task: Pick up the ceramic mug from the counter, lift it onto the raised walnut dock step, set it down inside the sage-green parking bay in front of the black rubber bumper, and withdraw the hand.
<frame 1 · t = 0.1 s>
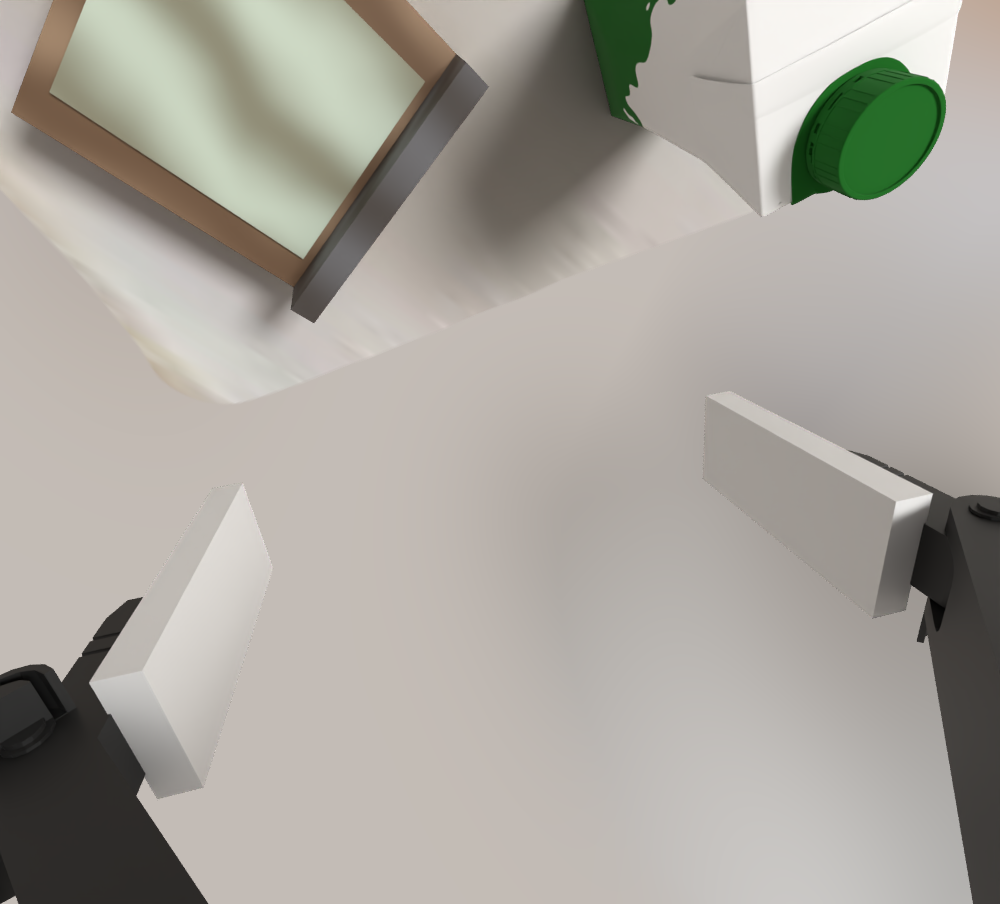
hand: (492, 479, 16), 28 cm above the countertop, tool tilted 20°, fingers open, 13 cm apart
milk carton: (648, 23, 33), on the countertop
dock step: (264, 80, 31), on the countertop
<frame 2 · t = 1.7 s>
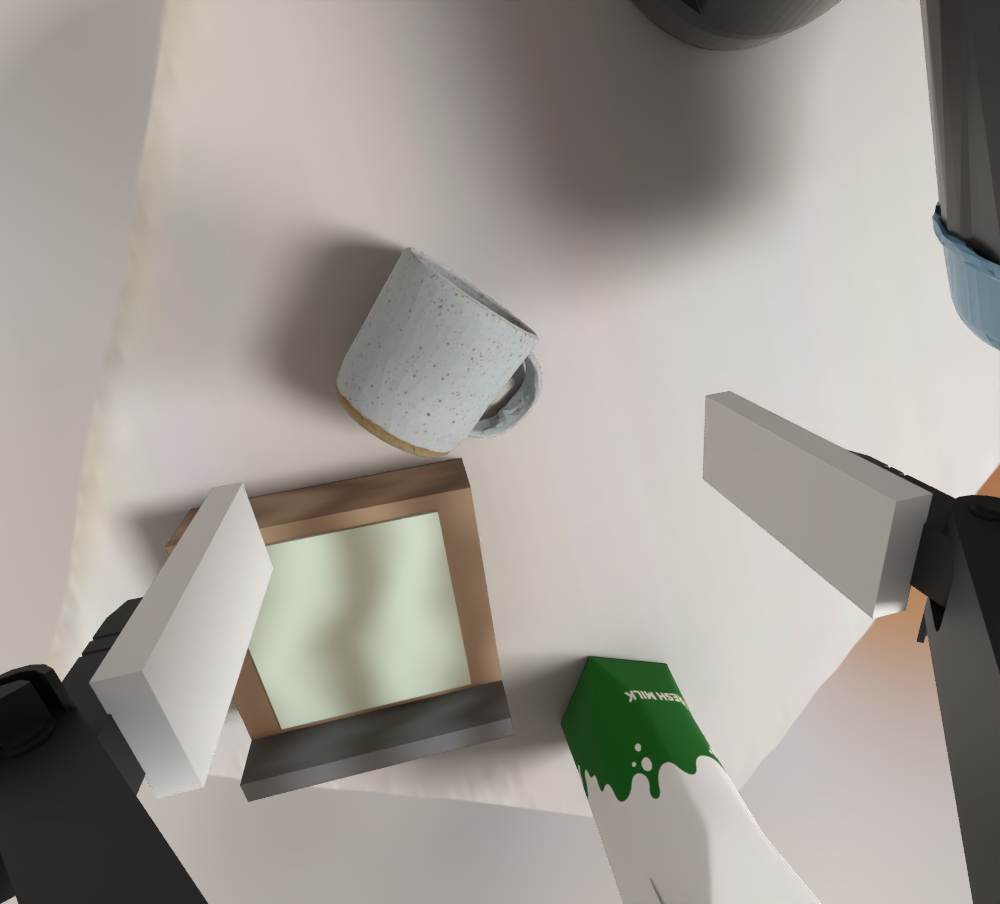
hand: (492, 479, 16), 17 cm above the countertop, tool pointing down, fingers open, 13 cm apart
milk carton: (612, 690, 45), on the countertop
ceramic mug: (450, 350, 31), on the countertop
dock step: (360, 590, 36), on the countertop
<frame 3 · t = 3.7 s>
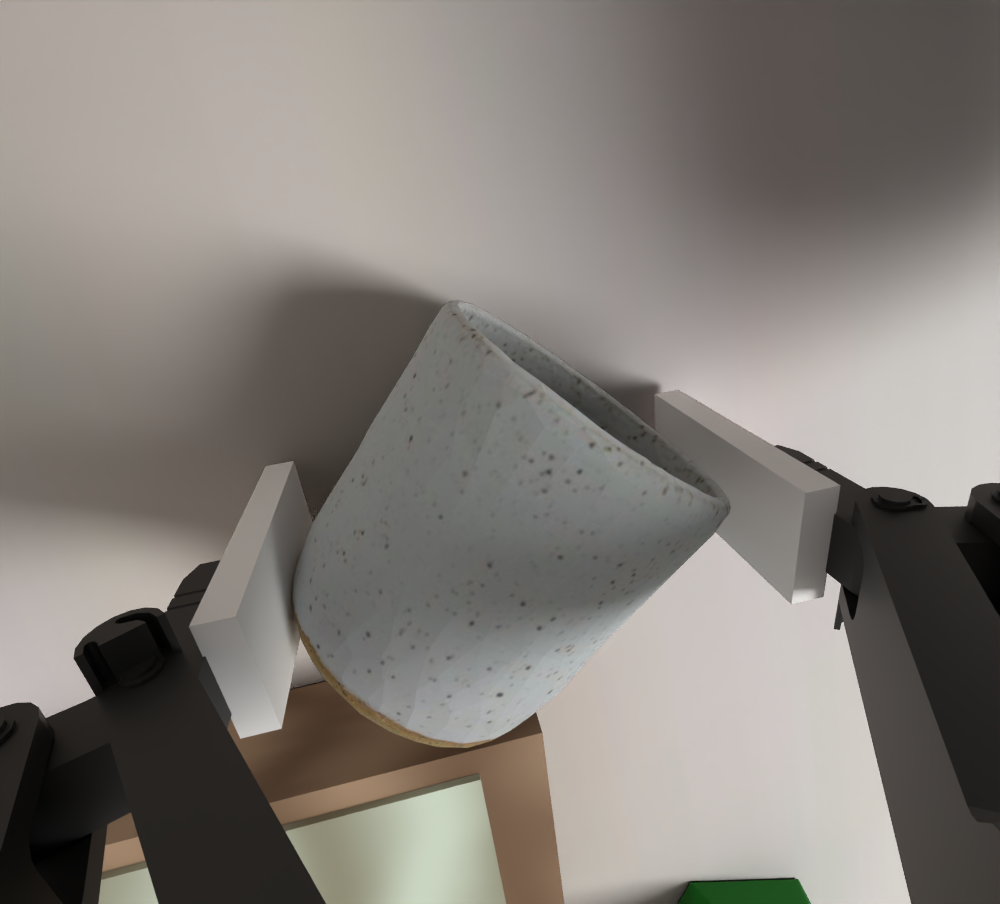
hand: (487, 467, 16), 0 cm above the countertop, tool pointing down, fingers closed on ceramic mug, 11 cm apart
ceramic mug: (512, 471, 17), on the countertop, touching gripper
dock step: (340, 836, 22), on the countertop
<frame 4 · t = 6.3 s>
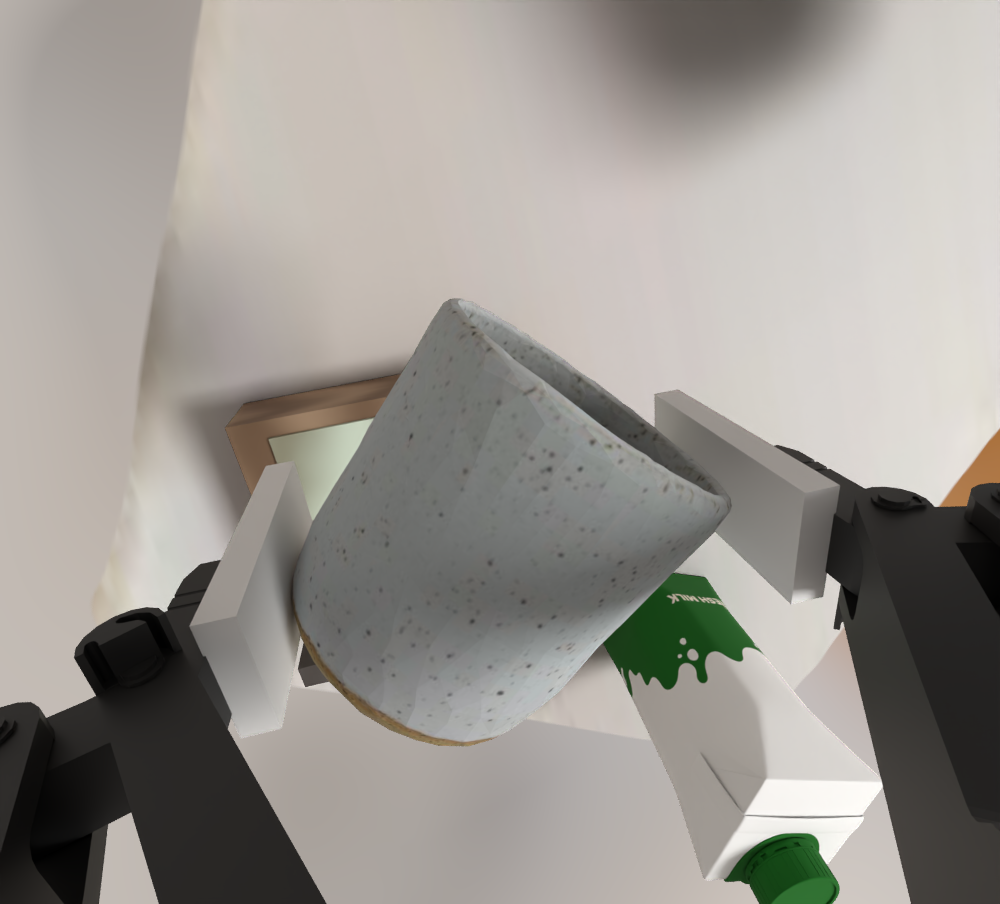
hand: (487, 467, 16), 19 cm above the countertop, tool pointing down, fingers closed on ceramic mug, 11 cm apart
milk carton: (651, 605, 45), on the countertop
ceramic mug: (512, 470, 17), point 18 cm above the countertop, touching gripper
dock step: (406, 491, 37), on the countertop
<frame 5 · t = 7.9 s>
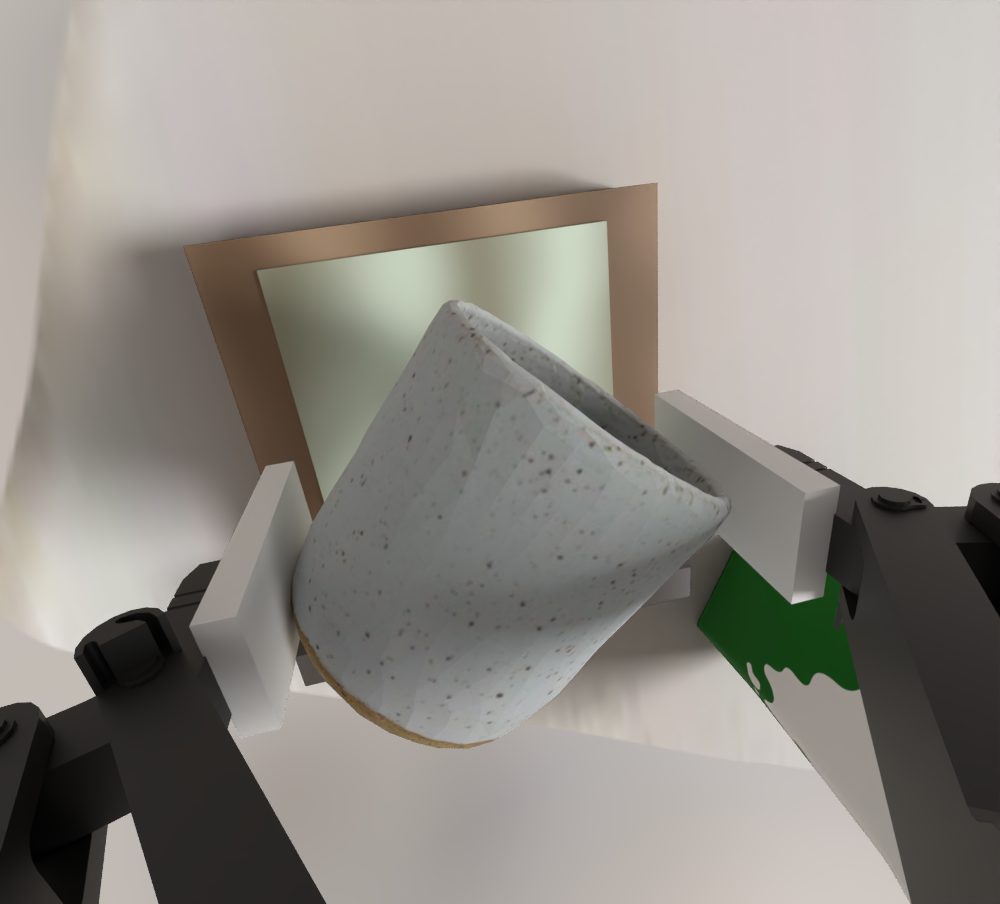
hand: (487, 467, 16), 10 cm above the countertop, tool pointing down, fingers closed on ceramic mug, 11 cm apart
milk carton: (765, 581, 34), on the countertop
ceramic mug: (512, 471, 17), point 9 cm above the countertop, touching gripper
dock step: (455, 401, 25), on the countertop
when the fingers open (6 cm above the countertop, at t = 9.2 s): ceramic mug drops 1 cm, resting on dock step.
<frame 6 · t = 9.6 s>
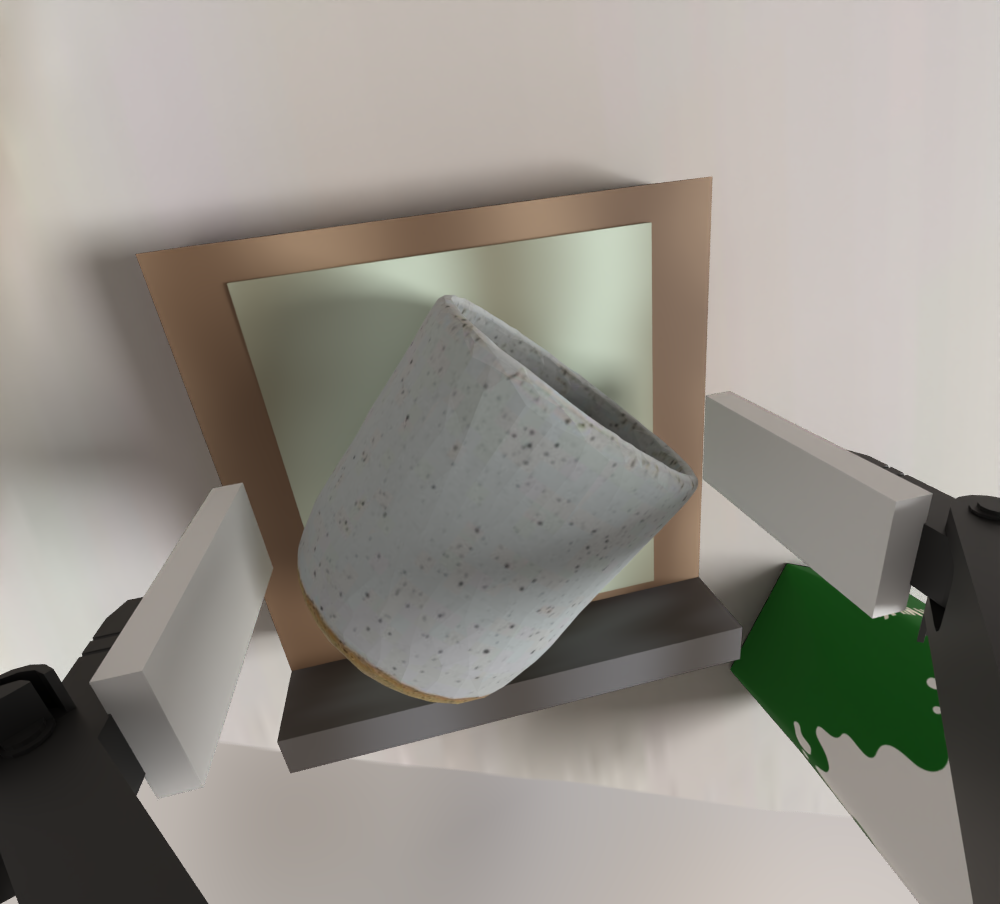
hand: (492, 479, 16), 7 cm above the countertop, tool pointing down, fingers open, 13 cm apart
milk carton: (805, 620, 31), on the countertop
ceramic mug: (502, 457, 18), point 4 cm above the countertop, touching dock step
dock step: (466, 429, 22), on the countertop
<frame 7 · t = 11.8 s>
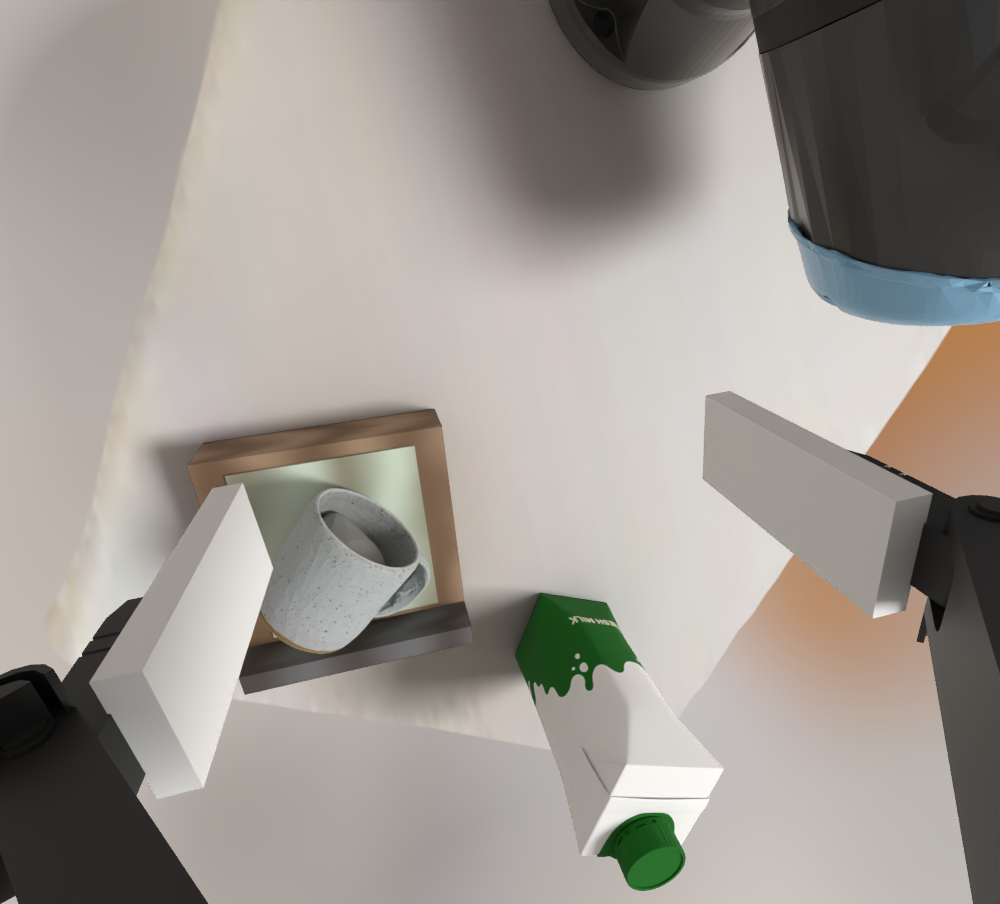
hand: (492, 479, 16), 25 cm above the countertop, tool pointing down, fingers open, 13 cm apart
milk carton: (560, 627, 51), on the countertop
ceramic mug: (357, 545, 39), point 4 cm above the countertop, touching dock step
dock step: (344, 522, 42), on the countertop
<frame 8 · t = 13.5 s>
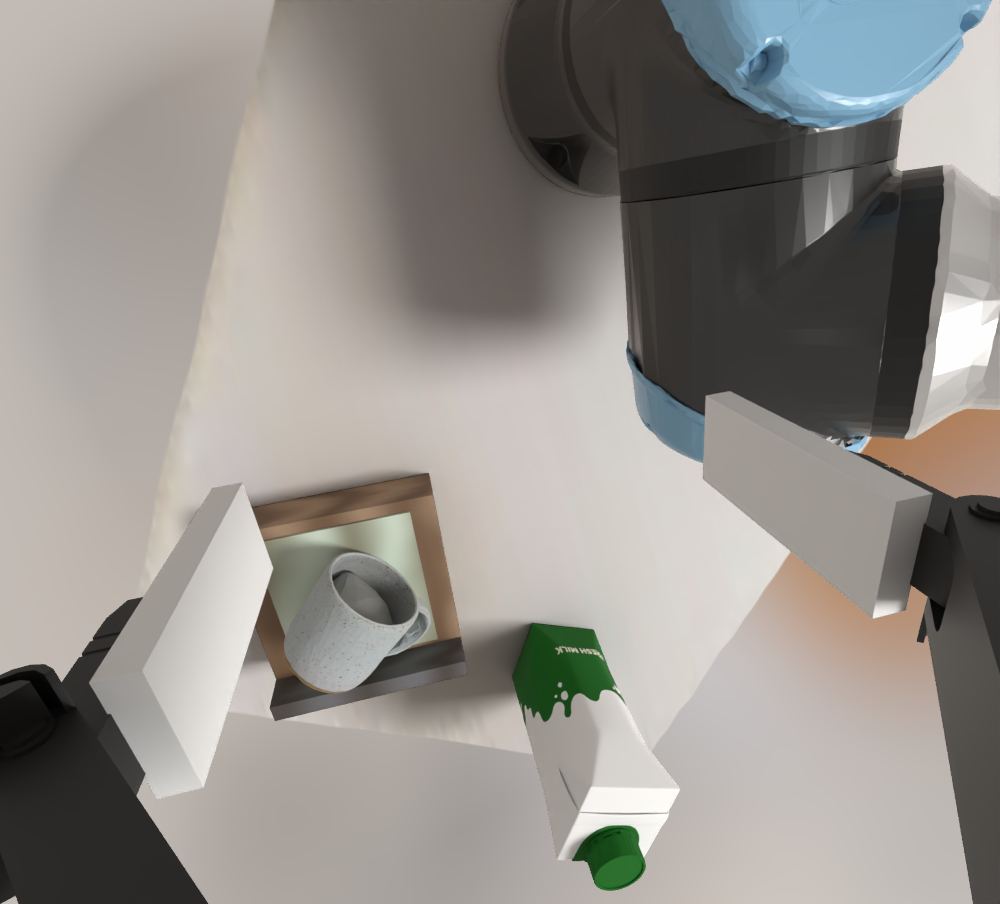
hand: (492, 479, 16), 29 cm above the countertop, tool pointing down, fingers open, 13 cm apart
milk carton: (552, 651, 57), on the countertop
ceramic mug: (368, 595, 45), point 4 cm above the countertop, touching dock step
dock step: (355, 570, 49), on the countertop
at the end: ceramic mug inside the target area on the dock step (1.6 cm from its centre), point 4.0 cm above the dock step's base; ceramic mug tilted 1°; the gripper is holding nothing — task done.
